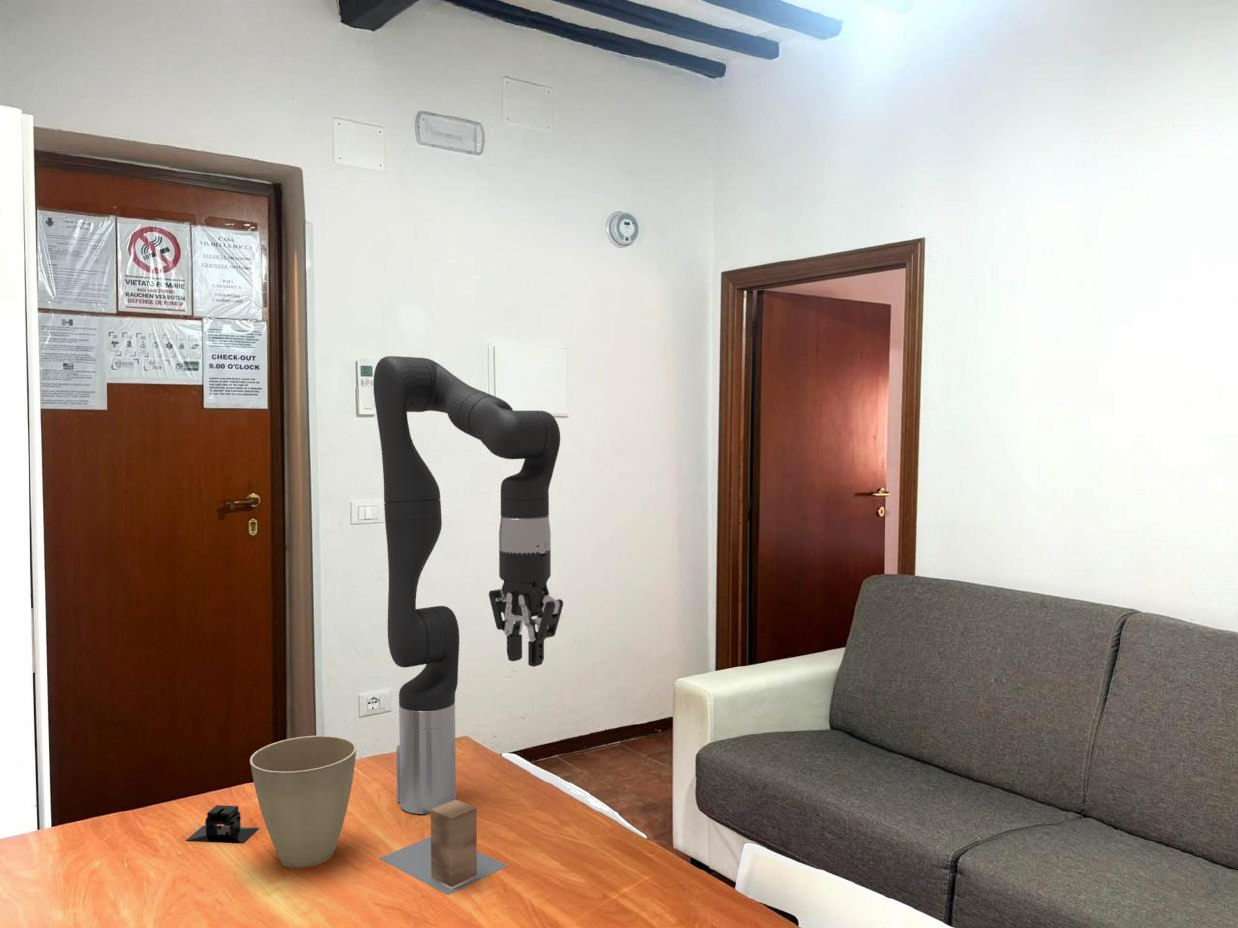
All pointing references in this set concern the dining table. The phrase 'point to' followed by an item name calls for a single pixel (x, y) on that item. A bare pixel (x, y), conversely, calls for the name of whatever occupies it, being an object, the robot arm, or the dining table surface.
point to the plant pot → (304, 795)
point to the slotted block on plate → (223, 827)
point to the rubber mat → (419, 864)
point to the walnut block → (453, 844)
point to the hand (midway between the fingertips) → (525, 662)
